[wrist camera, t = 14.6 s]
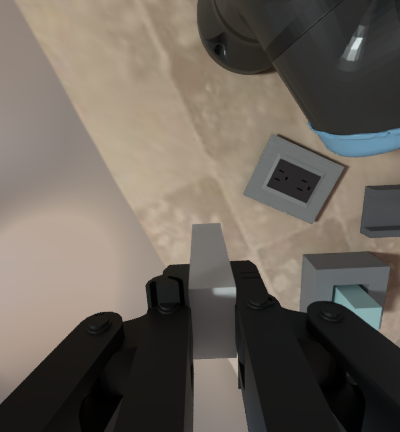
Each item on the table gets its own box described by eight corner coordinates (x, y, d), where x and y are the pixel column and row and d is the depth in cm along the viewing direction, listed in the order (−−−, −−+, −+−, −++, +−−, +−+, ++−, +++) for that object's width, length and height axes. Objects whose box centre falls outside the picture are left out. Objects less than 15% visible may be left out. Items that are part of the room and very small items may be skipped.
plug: (325, 275, 51) (354, 308, 41) (347, 274, 51) (382, 307, 41) (323, 295, 52) (351, 331, 42) (345, 294, 52) (378, 330, 42)
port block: (303, 254, 51) (317, 271, 45) (368, 251, 51) (392, 267, 44) (299, 310, 54) (312, 333, 48) (360, 308, 54) (381, 330, 48)
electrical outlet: (338, 166, 47) (345, 167, 44) (307, 220, 49) (312, 224, 47) (269, 134, 45) (272, 133, 43) (241, 192, 48) (243, 195, 46)
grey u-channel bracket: (365, 186, 47) (376, 189, 44) (412, 184, 47) (426, 187, 44) (359, 232, 50) (369, 238, 47) (404, 230, 49) (417, 236, 47)
